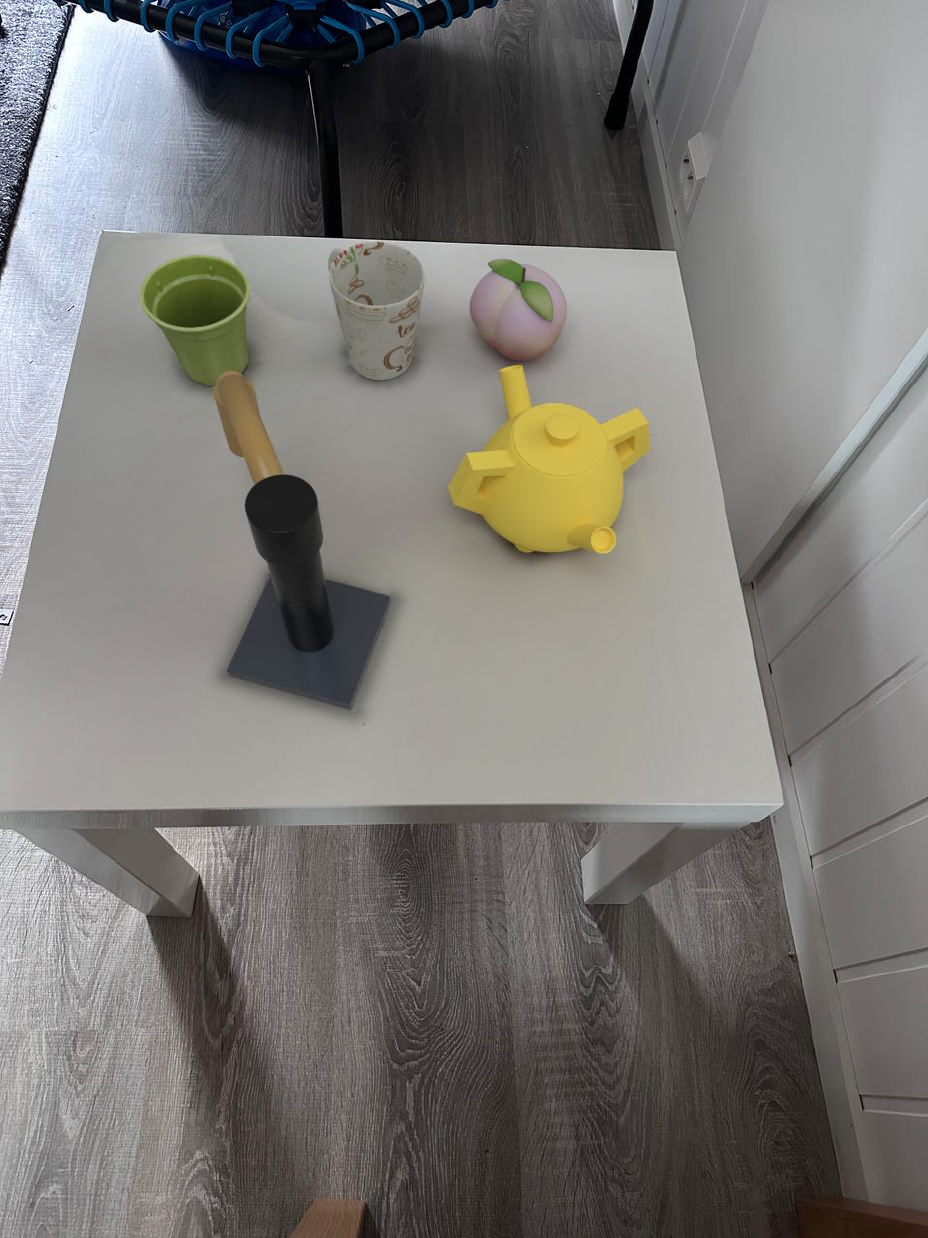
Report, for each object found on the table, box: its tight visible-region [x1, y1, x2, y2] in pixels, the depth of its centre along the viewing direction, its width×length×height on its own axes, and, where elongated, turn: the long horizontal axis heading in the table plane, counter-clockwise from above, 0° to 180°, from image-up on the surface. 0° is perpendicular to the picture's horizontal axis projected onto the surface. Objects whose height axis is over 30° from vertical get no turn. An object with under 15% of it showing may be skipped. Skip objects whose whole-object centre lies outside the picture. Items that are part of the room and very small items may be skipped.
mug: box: [327, 241, 426, 381], centre depth 79 cm, size 8×13×10 cm, turn 39°
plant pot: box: [139, 254, 251, 387], centre depth 77 cm, size 9×9×9 cm
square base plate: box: [226, 549, 391, 711], centre depth 62 cm, size 10×10×14 cm
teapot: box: [447, 364, 651, 555], centre depth 70 cm, size 20×18×11 cm
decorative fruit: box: [469, 258, 568, 362], centre depth 80 cm, size 9×8×10 cm
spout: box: [213, 370, 324, 567], centre depth 57 cm, size 16×4×8 cm, turn 23°
